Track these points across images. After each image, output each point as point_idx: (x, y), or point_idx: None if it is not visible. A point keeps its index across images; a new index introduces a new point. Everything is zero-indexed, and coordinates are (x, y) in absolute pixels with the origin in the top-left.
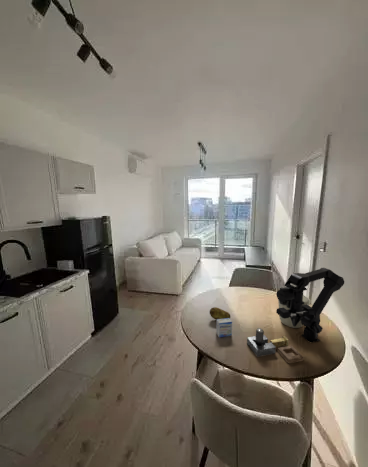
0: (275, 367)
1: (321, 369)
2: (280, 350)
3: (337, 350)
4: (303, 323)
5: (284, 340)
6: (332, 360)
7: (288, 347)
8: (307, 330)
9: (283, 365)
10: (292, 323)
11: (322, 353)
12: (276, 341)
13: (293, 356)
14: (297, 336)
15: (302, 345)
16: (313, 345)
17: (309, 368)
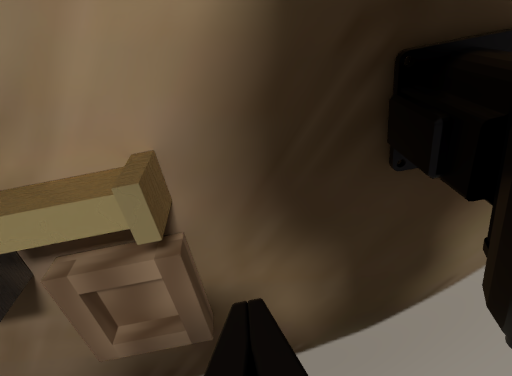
0: (17, 360)
1: None
2: (59, 302)
3: None
4: (501, 188)
5: (120, 228)
6: (390, 305)
7: (140, 274)
8: (460, 175)
9: (72, 347)
10: (220, 346)
11: (383, 262)
12: (26, 242)
13: (143, 342)
14: (344, 64)
15: (301, 193)
16: (391, 193)
17: None
